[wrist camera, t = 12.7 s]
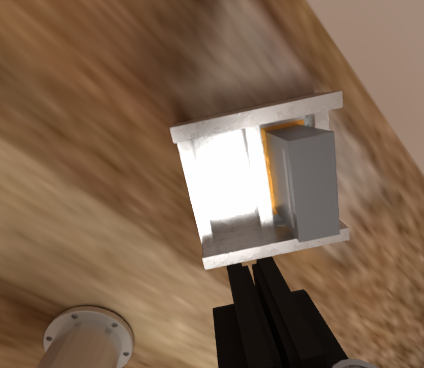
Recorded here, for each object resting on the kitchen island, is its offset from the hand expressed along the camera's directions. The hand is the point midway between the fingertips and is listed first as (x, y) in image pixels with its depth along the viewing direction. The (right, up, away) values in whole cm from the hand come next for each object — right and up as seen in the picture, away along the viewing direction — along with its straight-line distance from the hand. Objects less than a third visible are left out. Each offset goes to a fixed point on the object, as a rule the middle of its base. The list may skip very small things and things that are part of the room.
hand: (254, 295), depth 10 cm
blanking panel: (+8, +6, +22) cm, 24 cm away
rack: (+4, +5, +23) cm, 24 cm away
